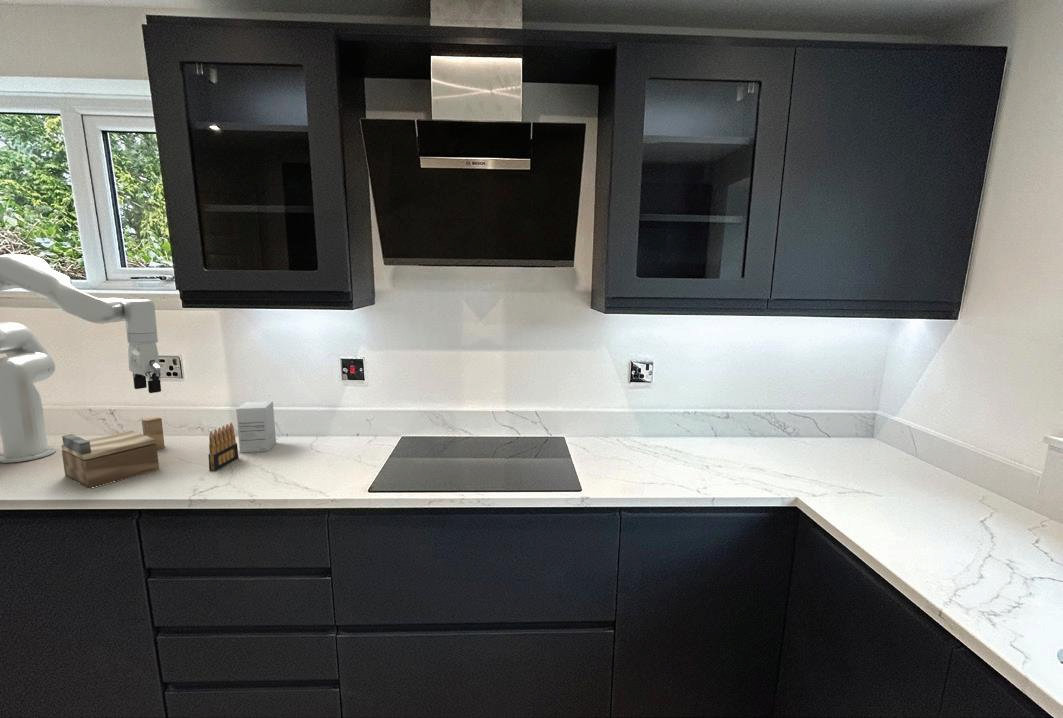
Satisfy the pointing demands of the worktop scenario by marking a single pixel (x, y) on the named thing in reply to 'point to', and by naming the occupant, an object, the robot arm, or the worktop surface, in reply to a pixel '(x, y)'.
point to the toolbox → (111, 466)
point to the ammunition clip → (222, 448)
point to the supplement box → (256, 426)
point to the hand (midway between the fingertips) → (147, 390)
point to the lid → (104, 444)
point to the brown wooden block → (154, 430)
